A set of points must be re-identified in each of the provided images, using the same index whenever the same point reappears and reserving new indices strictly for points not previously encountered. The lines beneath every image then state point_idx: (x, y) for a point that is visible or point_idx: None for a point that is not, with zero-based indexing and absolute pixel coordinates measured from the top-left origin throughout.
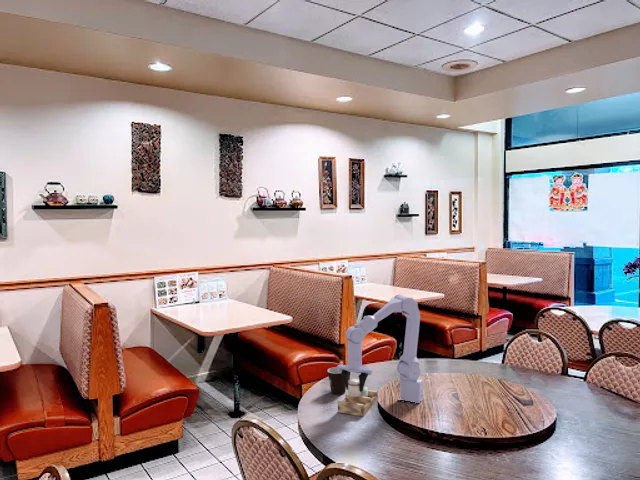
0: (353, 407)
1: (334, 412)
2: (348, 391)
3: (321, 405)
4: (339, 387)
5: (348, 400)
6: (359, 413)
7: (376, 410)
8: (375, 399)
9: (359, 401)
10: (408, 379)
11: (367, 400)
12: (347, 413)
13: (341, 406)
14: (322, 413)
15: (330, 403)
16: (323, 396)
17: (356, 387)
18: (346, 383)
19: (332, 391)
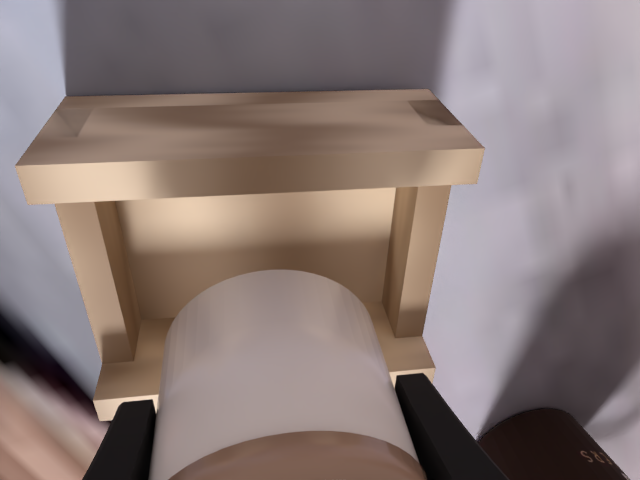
0: (211, 133)
1: (467, 89)
2: (368, 338)
3: (632, 199)
4: (535, 474)
5: (379, 322)
6: (120, 108)
7: (26, 298)
8: None
9: None
10: None
11: (140, 372)
12: (297, 92)
13: (400, 119)
14: (602, 12)
15: (551, 266)
16: (629, 353)
17: (187, 440)
18: (461, 473)
19: (574, 426)
